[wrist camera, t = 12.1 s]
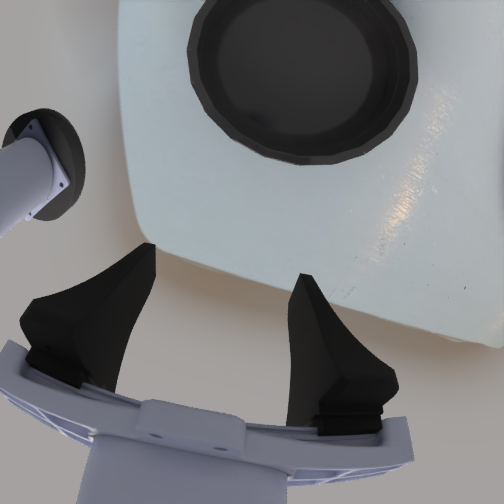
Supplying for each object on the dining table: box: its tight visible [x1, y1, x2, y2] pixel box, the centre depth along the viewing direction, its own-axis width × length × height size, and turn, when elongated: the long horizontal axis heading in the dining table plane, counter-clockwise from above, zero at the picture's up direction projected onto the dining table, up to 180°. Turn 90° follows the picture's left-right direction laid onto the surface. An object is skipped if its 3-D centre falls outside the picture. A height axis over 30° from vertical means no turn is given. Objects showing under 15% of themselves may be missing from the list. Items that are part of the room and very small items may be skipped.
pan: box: [187, 0, 418, 166], centre depth 14 cm, size 13×13×4 cm
